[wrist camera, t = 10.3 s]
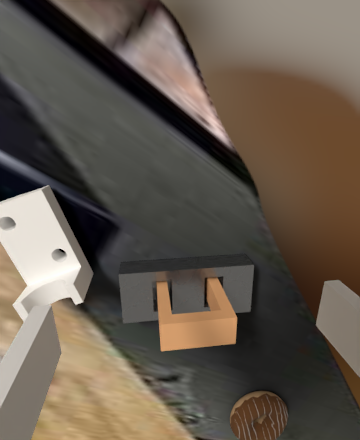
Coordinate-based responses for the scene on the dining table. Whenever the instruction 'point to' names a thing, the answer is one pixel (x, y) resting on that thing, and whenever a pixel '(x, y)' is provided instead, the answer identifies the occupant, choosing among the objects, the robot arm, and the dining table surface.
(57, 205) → the bracket
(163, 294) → the clip
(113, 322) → the dining table surface
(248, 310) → the grey slotted block
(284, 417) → the donut
